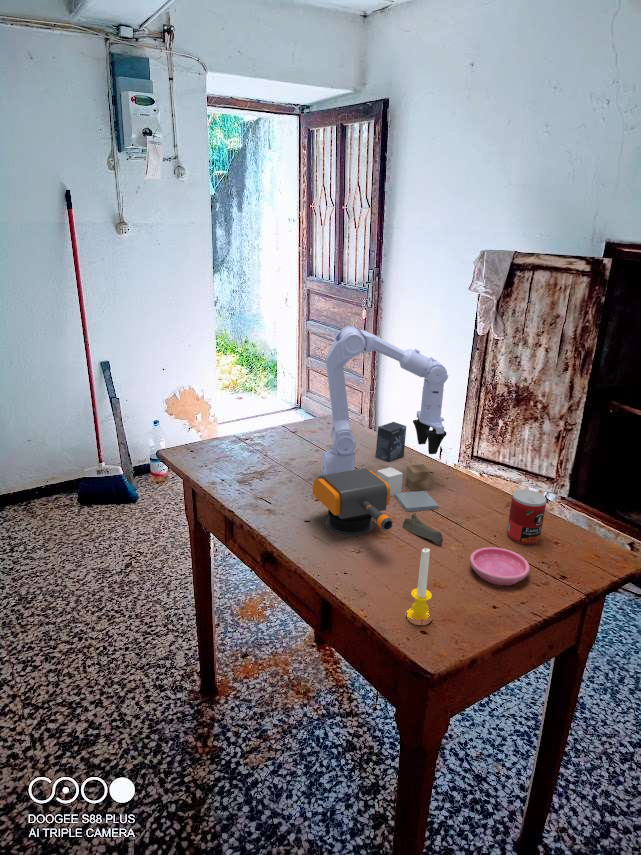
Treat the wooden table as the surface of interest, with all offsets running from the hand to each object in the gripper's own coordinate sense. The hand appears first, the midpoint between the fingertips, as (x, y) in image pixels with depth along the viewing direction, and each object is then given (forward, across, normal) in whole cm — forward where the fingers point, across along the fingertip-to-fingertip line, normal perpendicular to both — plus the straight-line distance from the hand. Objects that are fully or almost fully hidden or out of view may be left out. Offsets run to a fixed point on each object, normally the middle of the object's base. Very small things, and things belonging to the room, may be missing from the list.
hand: (427, 448), depth 172 cm
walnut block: (+10, -5, +4) cm, 12 cm away
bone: (+10, -30, +12) cm, 34 cm away
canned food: (+10, -36, -10) cm, 39 cm away
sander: (+10, -27, +28) cm, 40 cm away
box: (+10, +18, +4) cm, 21 cm away
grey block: (+10, -6, +13) cm, 18 cm away
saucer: (+10, -49, +4) cm, 50 cm away
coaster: (+10, -14, +8) cm, 19 cm away
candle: (+10, -60, +27) cm, 66 cm away
